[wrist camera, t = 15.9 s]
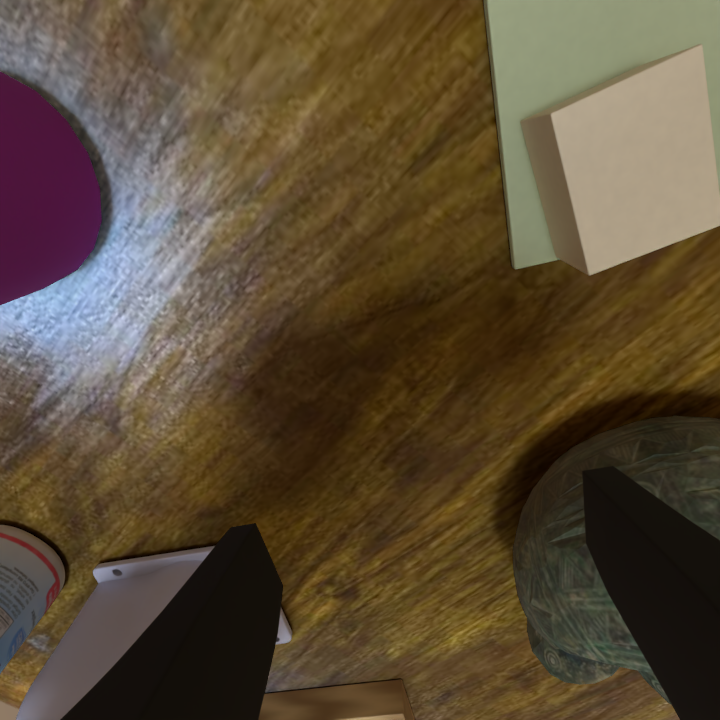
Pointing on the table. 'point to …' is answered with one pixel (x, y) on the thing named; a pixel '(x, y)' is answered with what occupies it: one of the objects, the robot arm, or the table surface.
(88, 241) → the beverage can
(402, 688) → the wooden frame
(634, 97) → the block
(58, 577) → the pill bottle
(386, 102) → the table surface
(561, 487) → the dark green rounded piece
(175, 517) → the table surface
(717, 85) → the runner
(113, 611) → the robot arm
